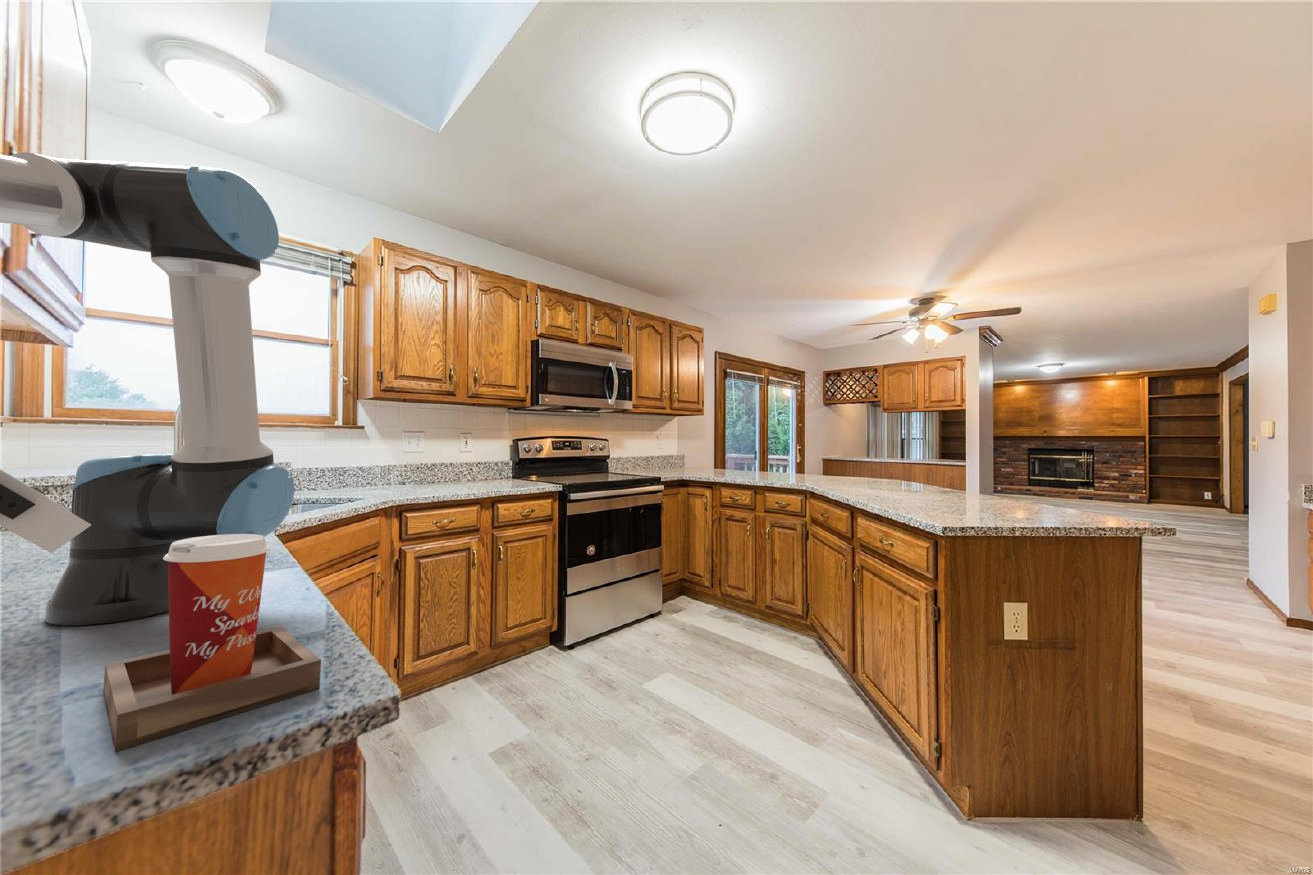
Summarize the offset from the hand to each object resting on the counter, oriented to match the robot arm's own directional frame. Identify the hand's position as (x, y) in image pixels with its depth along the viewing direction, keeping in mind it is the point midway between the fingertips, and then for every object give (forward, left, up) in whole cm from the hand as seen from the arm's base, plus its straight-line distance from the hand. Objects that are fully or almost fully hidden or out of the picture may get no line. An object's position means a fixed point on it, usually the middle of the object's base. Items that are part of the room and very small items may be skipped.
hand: (59, 527), depth 41 cm
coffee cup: (-10, +5, -18) cm, 21 cm away
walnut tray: (-10, +5, -18) cm, 21 cm away
